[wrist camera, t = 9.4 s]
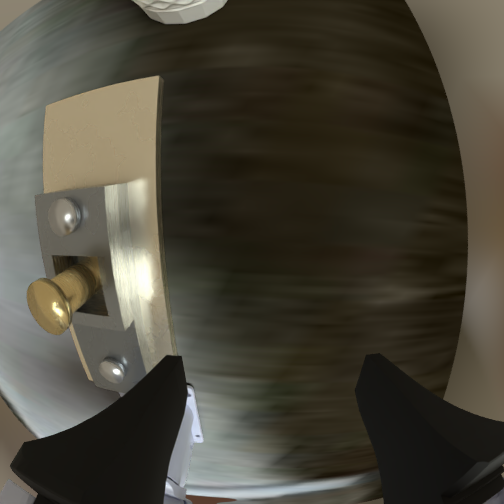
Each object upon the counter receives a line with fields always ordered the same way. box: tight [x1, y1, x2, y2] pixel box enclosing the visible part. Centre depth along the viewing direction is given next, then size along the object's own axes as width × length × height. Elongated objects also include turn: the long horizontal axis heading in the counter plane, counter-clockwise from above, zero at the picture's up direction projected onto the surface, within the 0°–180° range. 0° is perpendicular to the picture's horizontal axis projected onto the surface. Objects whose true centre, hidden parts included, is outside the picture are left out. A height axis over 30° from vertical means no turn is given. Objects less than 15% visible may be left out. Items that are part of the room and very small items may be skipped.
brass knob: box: [27, 256, 102, 335], centre depth 14 cm, size 3×3×7 cm
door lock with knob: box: [35, 76, 178, 394], centre depth 16 cm, size 25×10×5 cm, turn 179°
